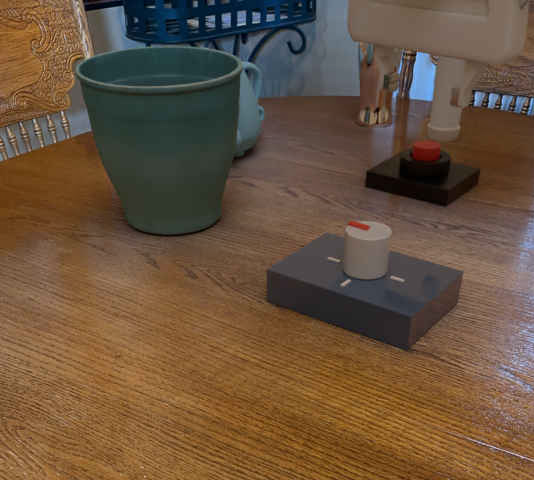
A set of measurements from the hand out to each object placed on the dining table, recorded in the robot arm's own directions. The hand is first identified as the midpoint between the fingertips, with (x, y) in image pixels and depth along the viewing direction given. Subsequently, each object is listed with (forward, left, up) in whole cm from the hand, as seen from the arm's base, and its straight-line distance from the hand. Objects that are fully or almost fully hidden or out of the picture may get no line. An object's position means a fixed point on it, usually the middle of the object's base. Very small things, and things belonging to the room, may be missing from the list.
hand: (422, 98), depth 78 cm
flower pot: (+24, +17, -14) cm, 32 cm away
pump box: (+4, -11, -14) cm, 18 cm away
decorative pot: (+37, -5, -14) cm, 39 cm away
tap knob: (-6, +22, -10) cm, 25 cm away
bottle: (+11, -32, -14) cm, 36 cm away
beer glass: (+24, -33, -14) cm, 43 cm away
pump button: (+4, -11, -10) cm, 15 cm away
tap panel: (-6, +22, -14) cm, 27 cm away
